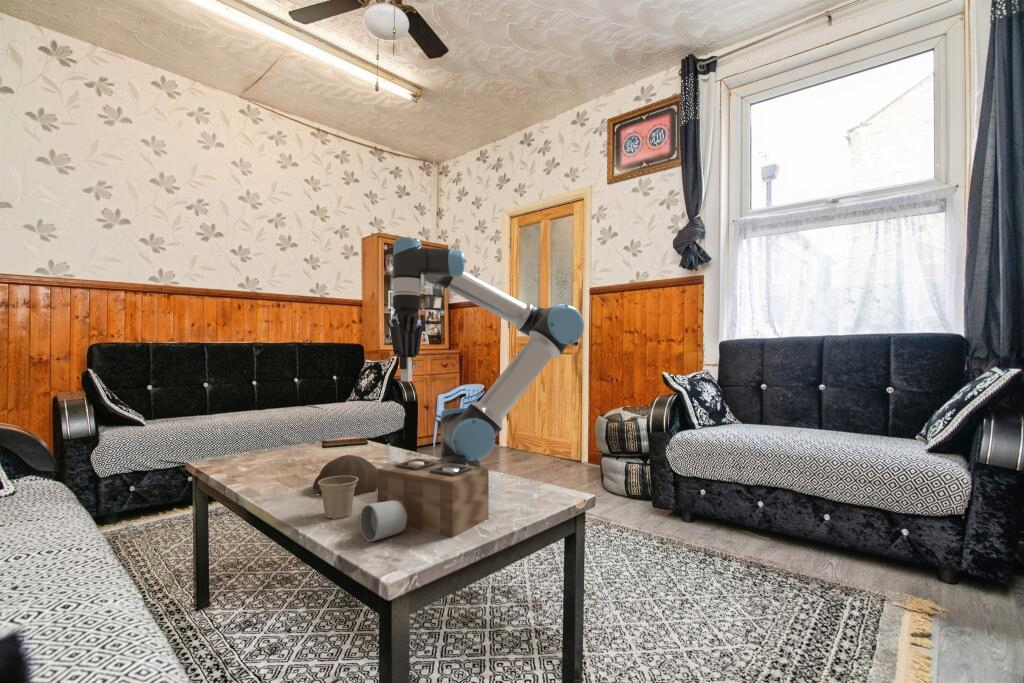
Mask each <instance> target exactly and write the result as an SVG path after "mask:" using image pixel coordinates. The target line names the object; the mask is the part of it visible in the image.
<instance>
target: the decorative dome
mask: <svg viewBox="0 0 1024 683" xmlns="http://www.w3.org/2000/svg"><path fill="white" fill-rule="evenodd" d="M334 476H355V477H357V478H358V481H357V483H356V487H355V491H354V497H358V496H361V495H363V493H364V494H369V492H370V493H375V492H376V491H377V490H378V468H377V467H376V466H375V465H374V464H373V463H371V462H370V461H369V460H367V459H366V458H364V457H362V456H358V455H354V454H353V455H351V454H345V455H342V456H338V457H337V458H334V459H333V460H330V461H328V463H327V464H325V465H324V466H323V467H322V468H321V470H320V472H319V474H318V475H317V477H315V480H314V482H313V488H312V490H313V489H314V490H316V491H315V492H316V494H319V495H318V496H322V491H321V489H320V485H319V484H318V481H320V480H321V479H324V478H329V477H334ZM314 490H313V491H314ZM316 494H315V495H316ZM360 494H361V495H360ZM357 495H358V496H357Z"/></svg>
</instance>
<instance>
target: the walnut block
mask: <svg viewBox="0 0 1024 683" xmlns="http://www.w3.org/2000/svg"><path fill="white" fill-rule="evenodd" d="M416 461H420V462H424V465H421V466H418V467H414V466H408V463H409V462H416ZM445 467H459V471H456V472H453V473H452V472H446V471H442V469H443V468H445ZM481 467H482V466H481ZM481 467H474V466H467V465H461V464H454V463H447V462H440V461H437V460H432V459H424V458H418V457H417V458H413V459H410V460H406V461H402V462H399V463H394V464H391V465H388V466H383V467H379V468H377V470H378V488H377V503H379V502H386V501H400V502H401V503H403V505H404V506H405V508H406V511H407V517H408V518H407V525H406V527H410V528H413V529H417V530H422V531H426V532H429V533H434V534H438V535H440V536H441V535H442V536H445V537H449V538H450V537H451V538H454V537H456V536H459V535H460V534H461V533H464V532H465V531H467V530H469V529H472V528H474V527H475V526H477V525H479V524H480V523H483V522H485V521H486V520H488V519H489V518H490V517H489V514H490V513H489V512H490V511H489V510H490V508H489V504H490V503H489V502H490V501H489V499H490V498H489V497H490V496H489V495H490V494H489V490H490V489H489V488H490V487H489V484H490V482H489V478H490V477H489V468H487V467H482V468H481ZM487 518H488V519H487ZM485 519H486V520H485ZM484 520H485V521H484ZM482 521H483V522H482Z"/></svg>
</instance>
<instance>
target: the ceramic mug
mask: <svg viewBox="0 0 1024 683" xmlns="http://www.w3.org/2000/svg"><path fill="white" fill-rule="evenodd" d="M407 518H408V517H407V511H406V508H405V506H404V505H403V503H401V502H400V501H386V502H379V503H378V502H372V503H368V504H365V505H364V506H363V508H362V510H361V511H360V516H359V525H360V531H361V533H362V536H363V537H364V539H365V540H366V541H367V542H369V543H370V542H371V543H372V542H375V541H380V540H382V539H387V538H388V537H391V536H395V535H398V534H399V533H402V532H403V531H404V530H405V529H406V527H407V526H406V525H407Z"/></svg>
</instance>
